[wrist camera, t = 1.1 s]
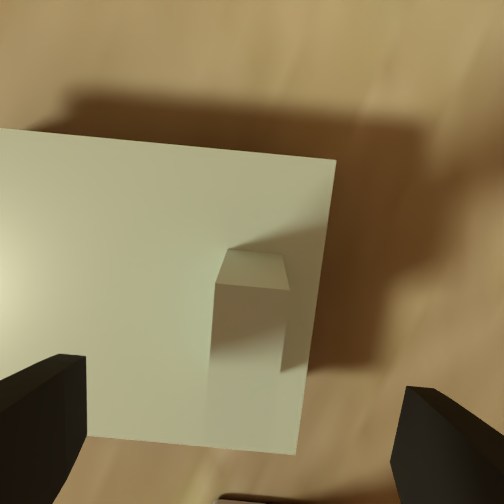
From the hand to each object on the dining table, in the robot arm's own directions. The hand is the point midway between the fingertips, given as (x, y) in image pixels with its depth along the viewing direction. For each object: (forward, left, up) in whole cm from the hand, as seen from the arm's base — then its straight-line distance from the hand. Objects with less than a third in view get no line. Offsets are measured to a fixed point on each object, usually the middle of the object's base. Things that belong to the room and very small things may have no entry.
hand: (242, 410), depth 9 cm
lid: (0, +5, -7) cm, 9 cm away
